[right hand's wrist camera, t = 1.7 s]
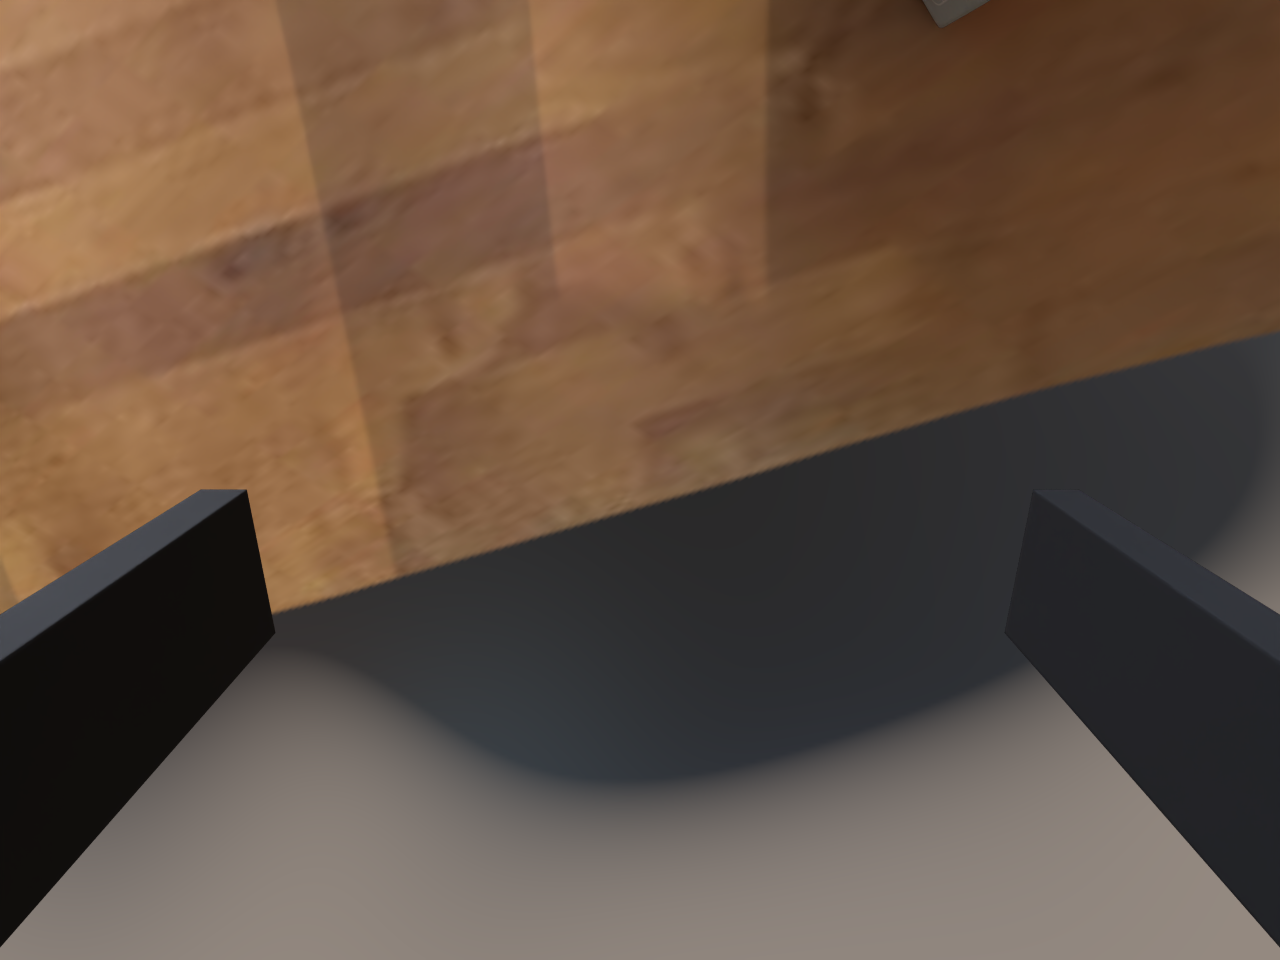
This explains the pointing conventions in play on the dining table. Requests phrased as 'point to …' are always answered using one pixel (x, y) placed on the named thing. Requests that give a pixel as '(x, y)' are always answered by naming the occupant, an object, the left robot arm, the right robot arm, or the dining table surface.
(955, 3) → the hard drive box
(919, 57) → the dining table surface
